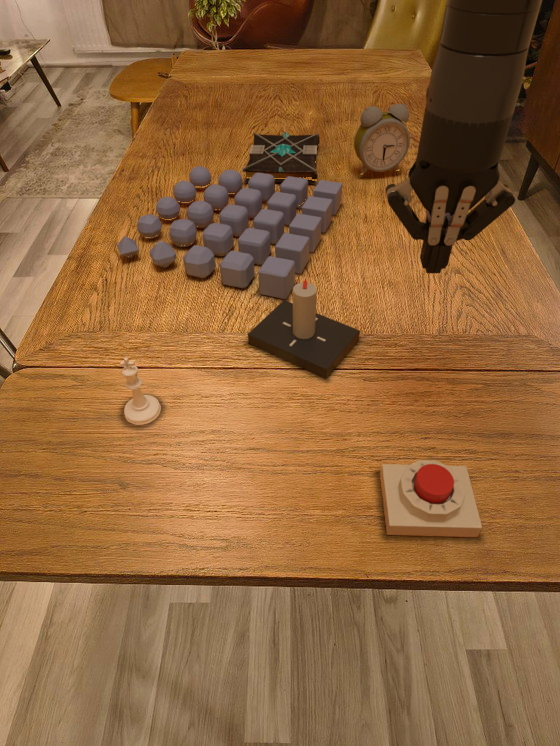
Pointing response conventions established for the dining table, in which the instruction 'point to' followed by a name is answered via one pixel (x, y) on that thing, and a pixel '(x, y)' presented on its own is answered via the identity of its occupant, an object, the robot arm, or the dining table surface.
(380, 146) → the alarm clock
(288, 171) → the book
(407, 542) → the dining table surface
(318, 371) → the panel
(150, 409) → the chess piece
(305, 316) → the knob
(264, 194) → the blocks
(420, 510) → the box
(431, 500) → the button
